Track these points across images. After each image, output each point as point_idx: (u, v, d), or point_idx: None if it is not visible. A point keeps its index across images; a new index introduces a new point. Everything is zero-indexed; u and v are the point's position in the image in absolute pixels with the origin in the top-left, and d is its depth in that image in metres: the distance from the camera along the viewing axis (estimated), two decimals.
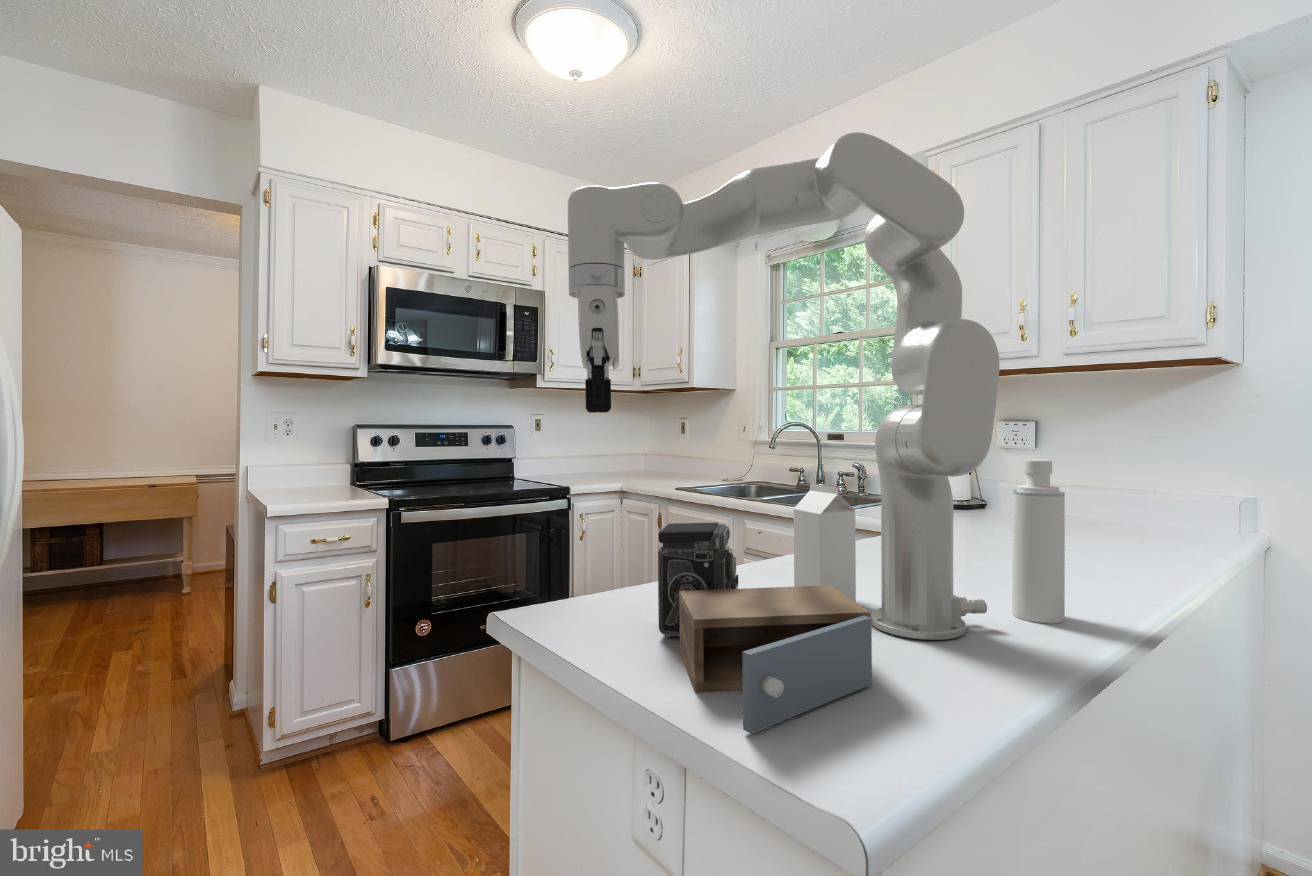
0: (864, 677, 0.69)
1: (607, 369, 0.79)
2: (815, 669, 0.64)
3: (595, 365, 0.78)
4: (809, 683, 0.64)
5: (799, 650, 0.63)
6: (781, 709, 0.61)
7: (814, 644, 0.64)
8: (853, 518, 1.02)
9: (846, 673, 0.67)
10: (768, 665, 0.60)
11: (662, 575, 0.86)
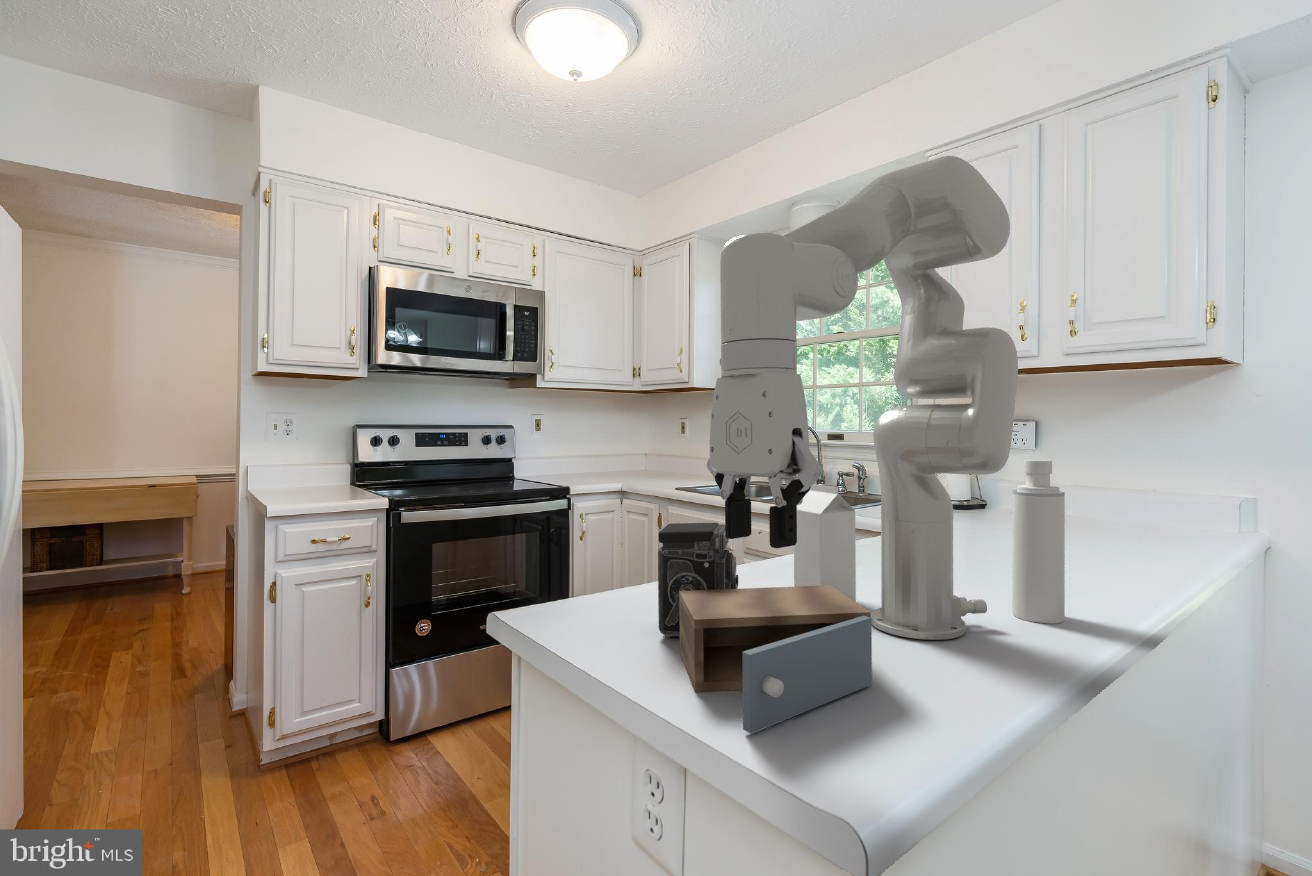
0: (864, 677, 0.69)
1: (722, 489, 0.67)
2: (815, 669, 0.64)
3: None
4: (809, 683, 0.64)
5: (799, 650, 0.63)
6: (781, 709, 0.61)
7: (814, 644, 0.64)
8: (853, 518, 1.02)
9: (846, 673, 0.67)
10: (768, 665, 0.60)
11: (662, 575, 0.86)
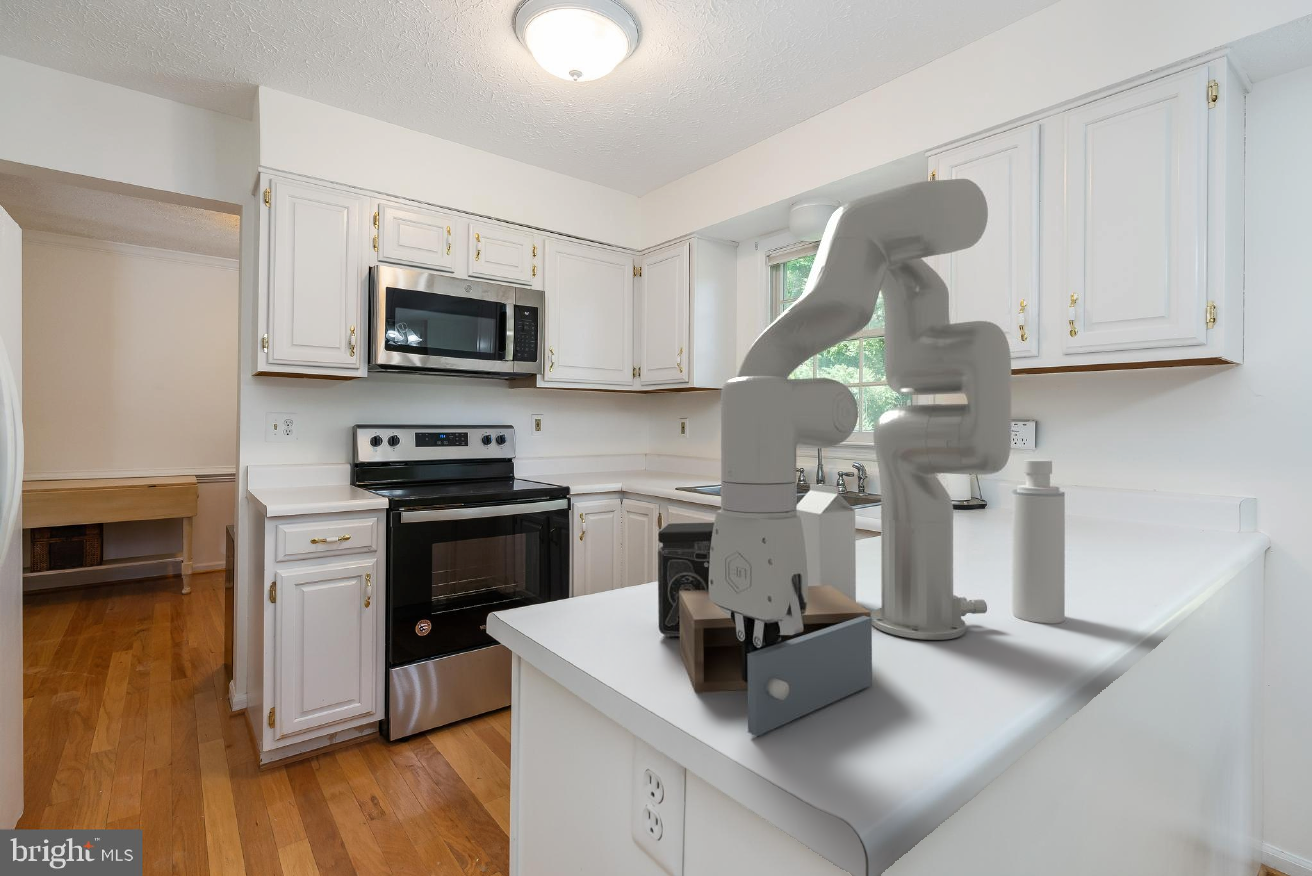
0: (865, 677, 0.69)
1: (737, 631, 0.65)
2: (818, 670, 0.64)
3: None
4: (812, 684, 0.63)
5: (803, 651, 0.62)
6: (785, 711, 0.61)
7: (817, 645, 0.64)
8: (853, 518, 1.02)
9: (847, 673, 0.67)
10: (773, 666, 0.60)
11: (662, 575, 0.86)
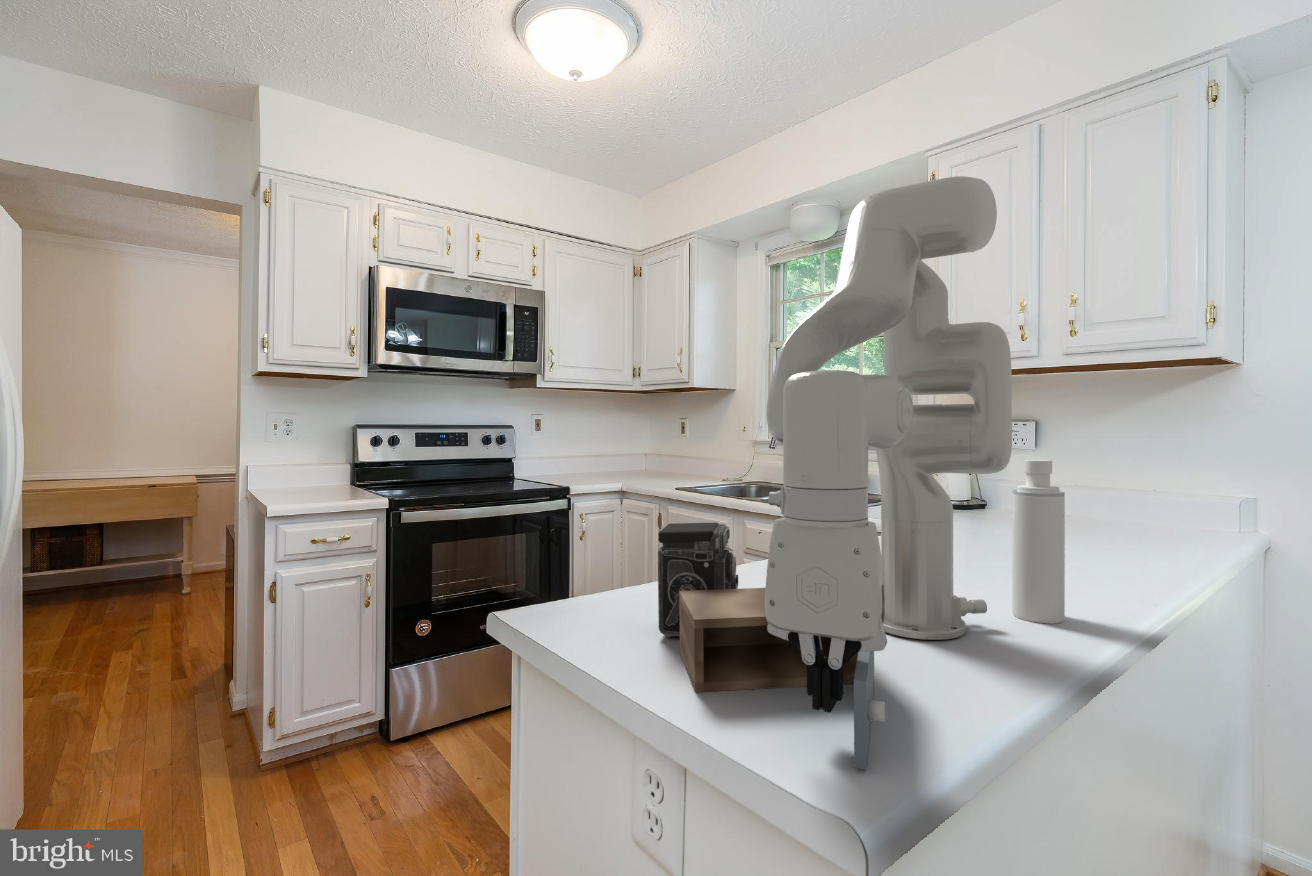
0: None
1: (802, 654, 0.58)
2: None
3: None
4: (870, 697, 0.60)
5: None
6: None
7: (870, 655, 0.61)
8: None
9: None
10: None
11: (662, 575, 0.86)
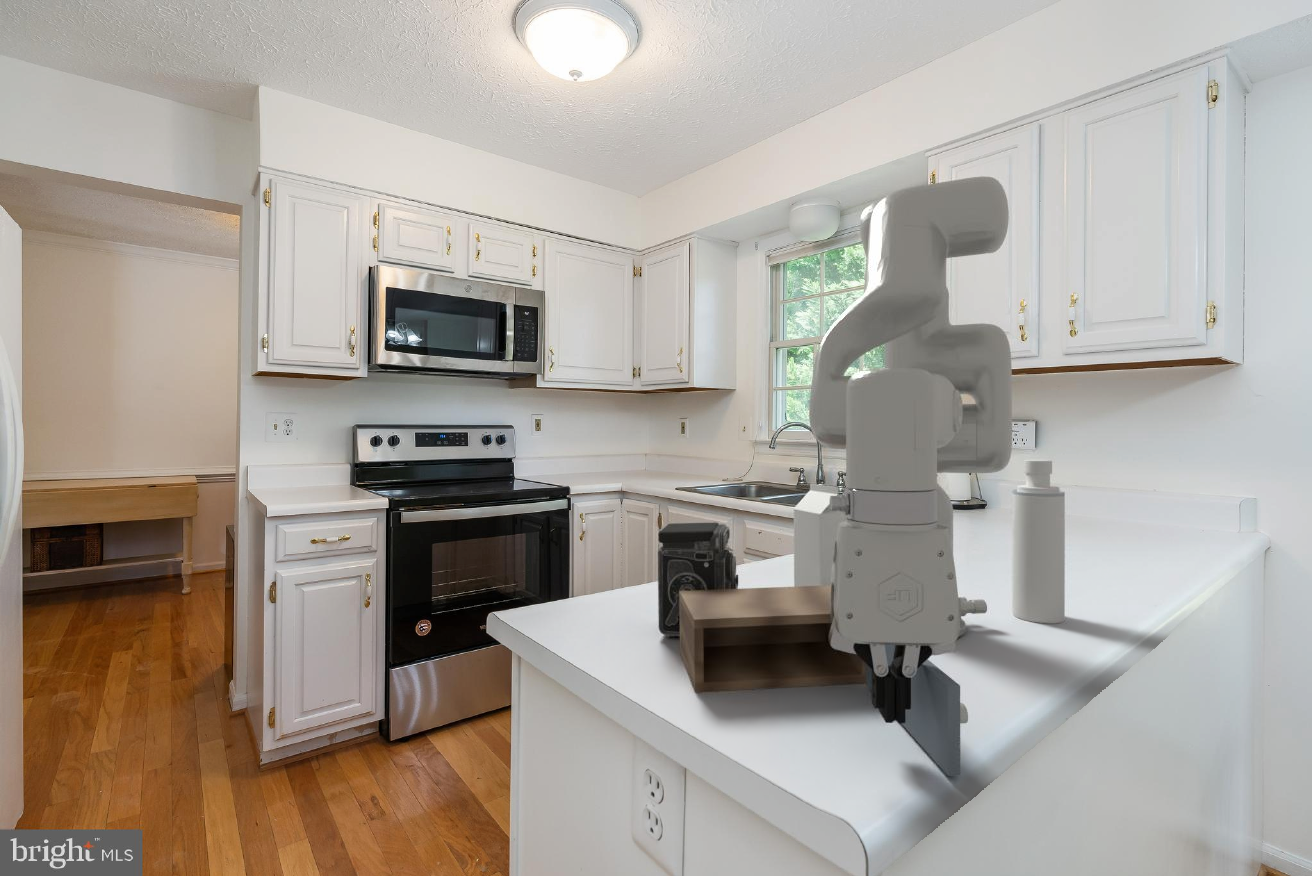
0: None
1: (873, 666, 0.55)
2: None
3: None
4: None
5: None
6: None
7: None
8: None
9: None
10: None
11: (662, 575, 0.86)
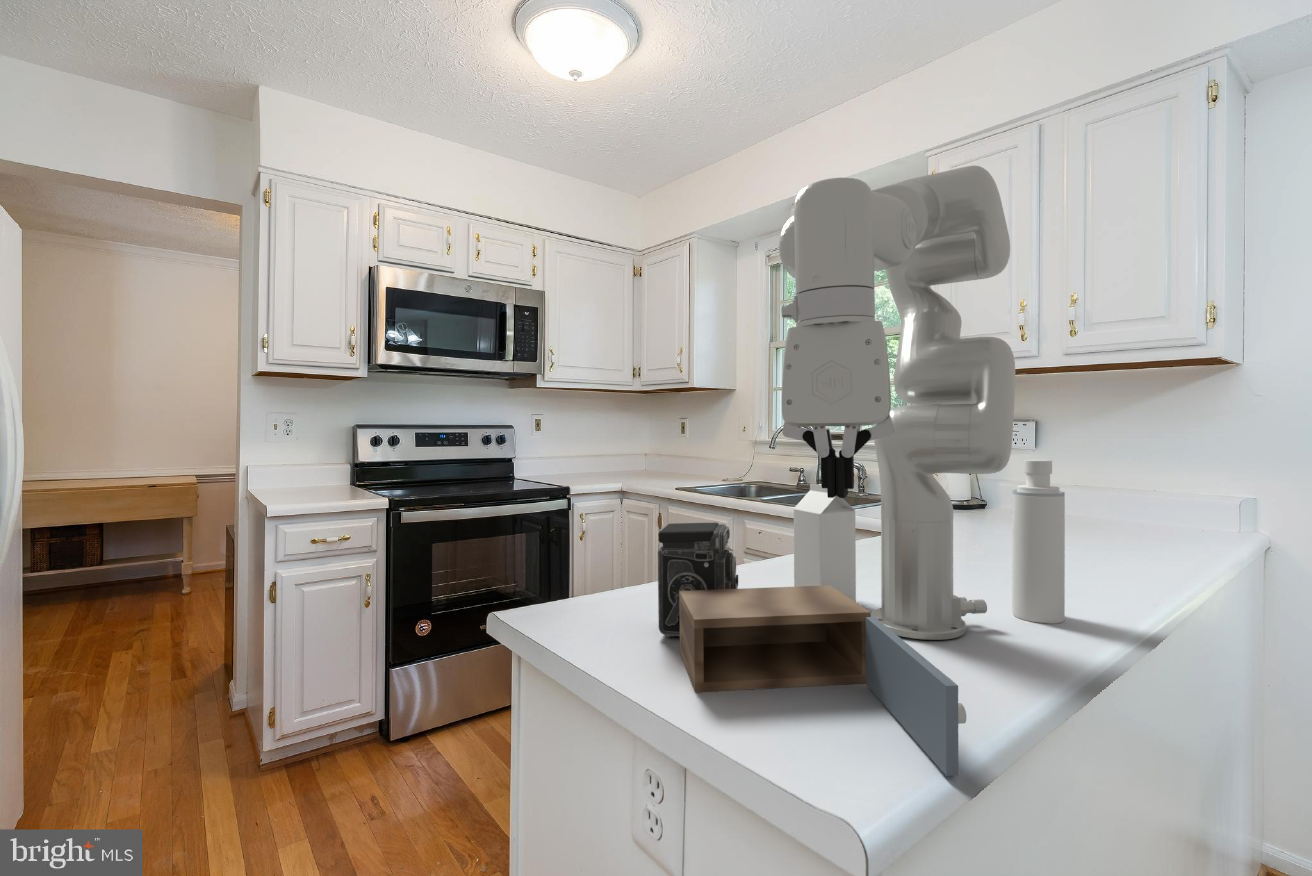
0: None
1: (816, 449, 0.63)
2: None
3: None
4: None
5: None
6: None
7: None
8: (853, 518, 1.02)
9: None
10: None
11: (662, 575, 0.86)
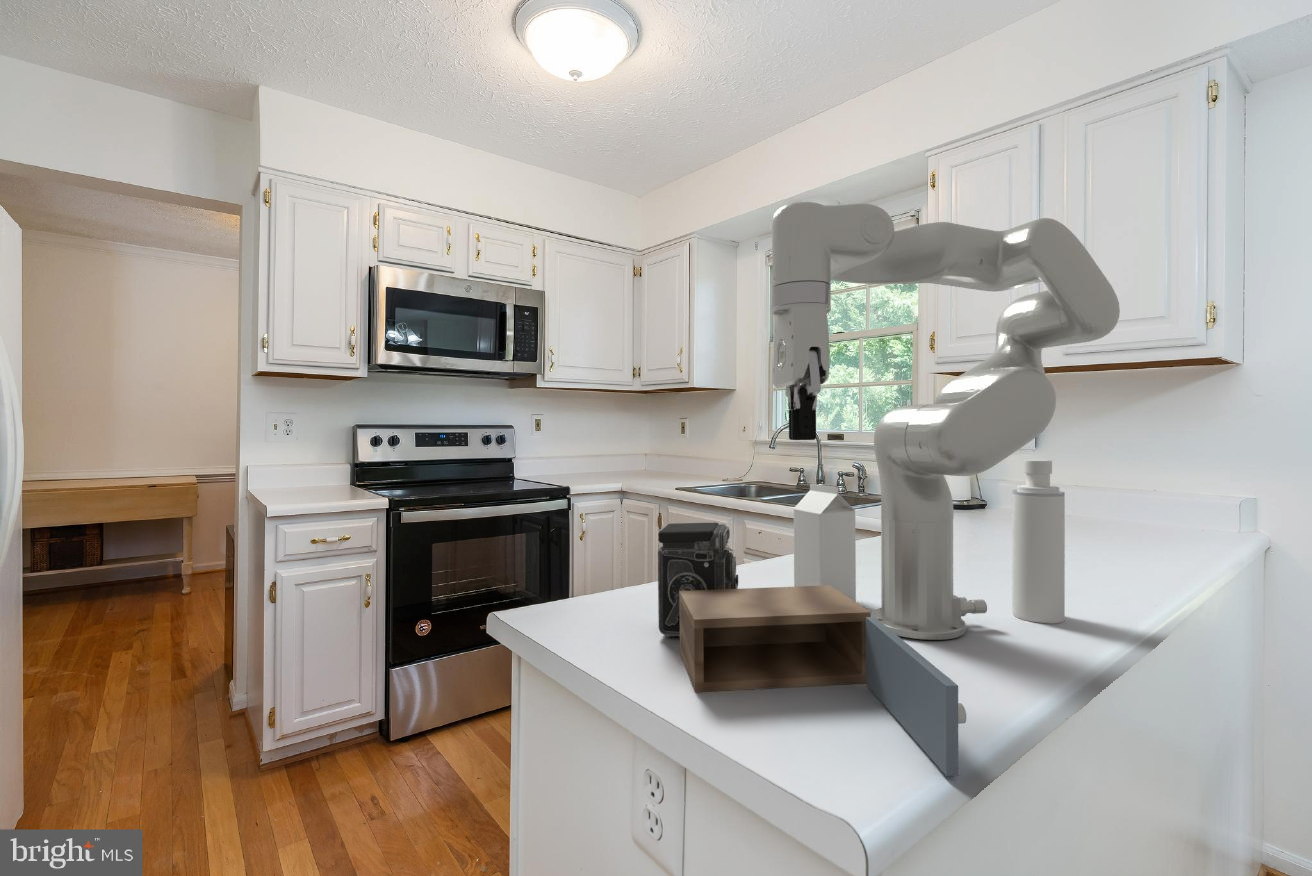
0: None
1: (789, 404, 0.86)
2: None
3: None
4: None
5: None
6: None
7: None
8: (853, 518, 1.02)
9: None
10: None
11: (662, 575, 0.86)
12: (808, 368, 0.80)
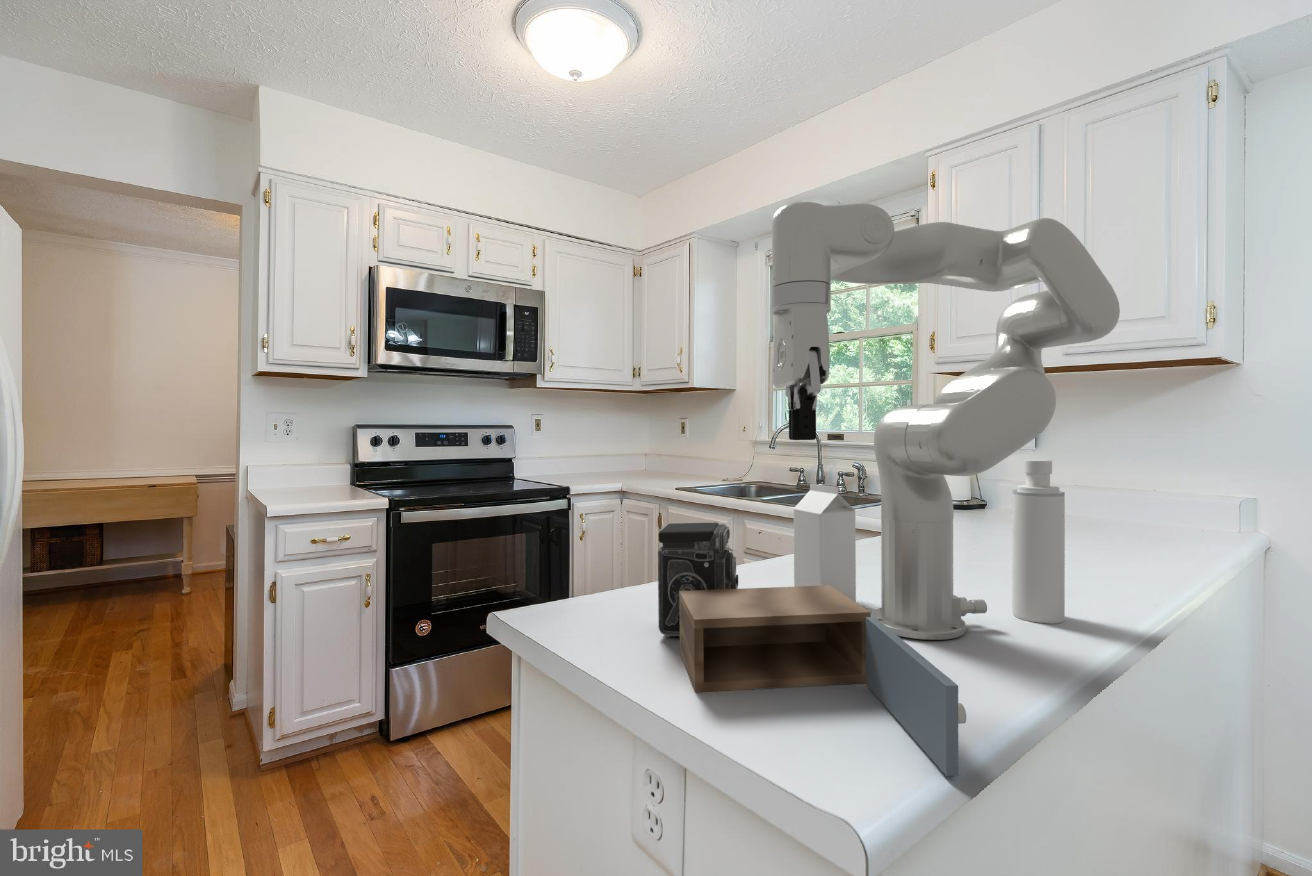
0: None
1: (789, 404, 0.86)
2: None
3: None
4: None
5: None
6: None
7: None
8: (853, 518, 1.02)
9: None
10: None
11: (662, 575, 0.86)
12: (808, 368, 0.80)
